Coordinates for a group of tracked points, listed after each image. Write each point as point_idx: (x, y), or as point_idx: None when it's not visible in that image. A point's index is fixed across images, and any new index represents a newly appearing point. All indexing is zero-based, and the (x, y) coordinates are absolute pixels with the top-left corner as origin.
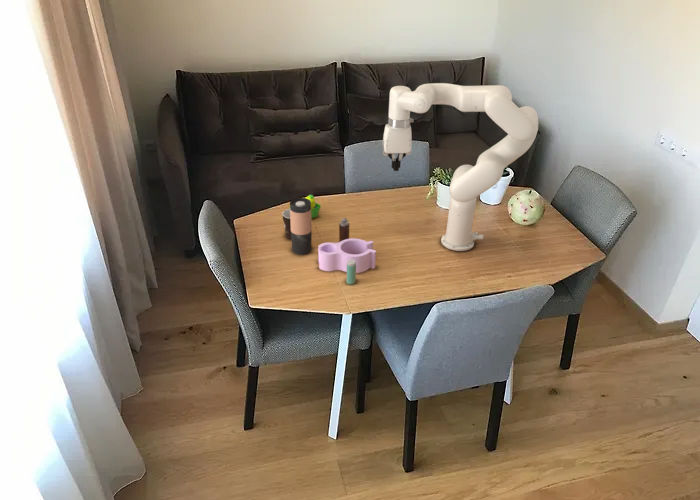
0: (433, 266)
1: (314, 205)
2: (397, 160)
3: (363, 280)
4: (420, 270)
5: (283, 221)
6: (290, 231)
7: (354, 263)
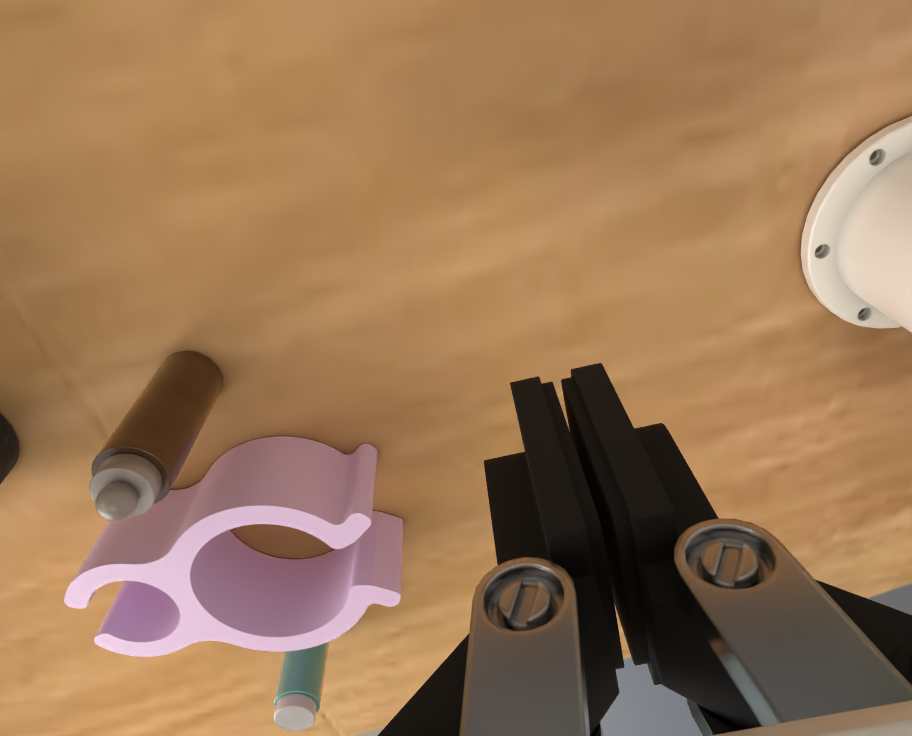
0: (695, 472)
1: None
2: (650, 650)
3: None
4: None
5: None
6: None
7: (312, 724)
